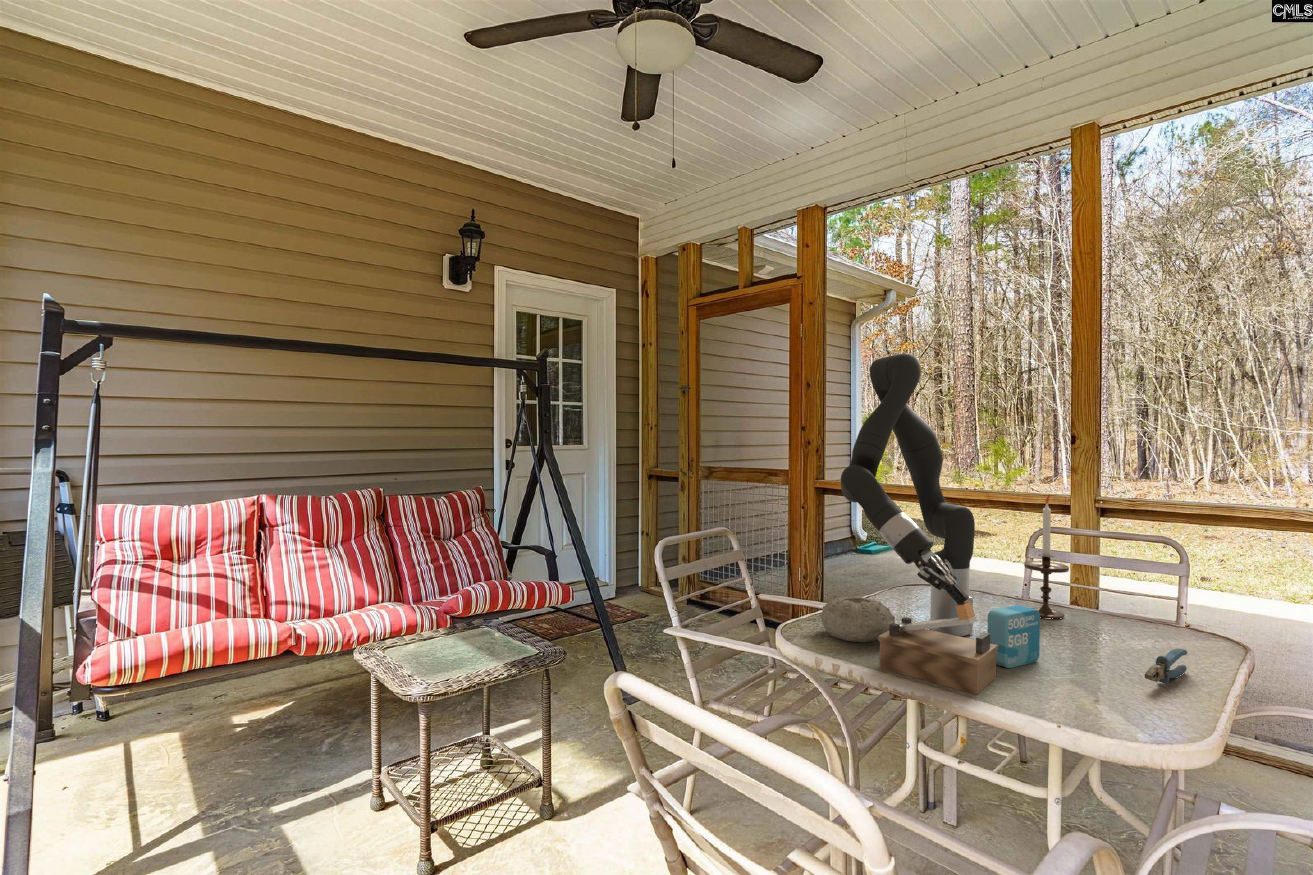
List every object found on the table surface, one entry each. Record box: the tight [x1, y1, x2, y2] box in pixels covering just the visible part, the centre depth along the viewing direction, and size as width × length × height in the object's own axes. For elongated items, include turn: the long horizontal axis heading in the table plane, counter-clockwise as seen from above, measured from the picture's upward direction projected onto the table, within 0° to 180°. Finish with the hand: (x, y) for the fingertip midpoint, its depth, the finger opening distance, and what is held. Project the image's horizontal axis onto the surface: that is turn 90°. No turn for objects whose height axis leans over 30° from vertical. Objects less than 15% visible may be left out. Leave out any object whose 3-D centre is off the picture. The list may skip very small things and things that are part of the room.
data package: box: [986, 604, 1041, 669], centre depth 143 cm, size 12×4×12 cm, turn 116°
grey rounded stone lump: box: [820, 595, 896, 643], centre depth 159 cm, size 18×18×10 cm
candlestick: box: [1023, 493, 1070, 619], centre depth 180 cm, size 11×11×35 cm
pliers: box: [1144, 648, 1188, 684], centre depth 132 cm, size 20×2×6 cm, turn 124°
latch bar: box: [900, 601, 977, 632], centre depth 137 cm, size 17×4×4 cm, turn 46°
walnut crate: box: [877, 616, 998, 695], centre depth 136 cm, size 21×13×10 cm, turn 46°
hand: (964, 601), depth 132 cm, fingers closed
